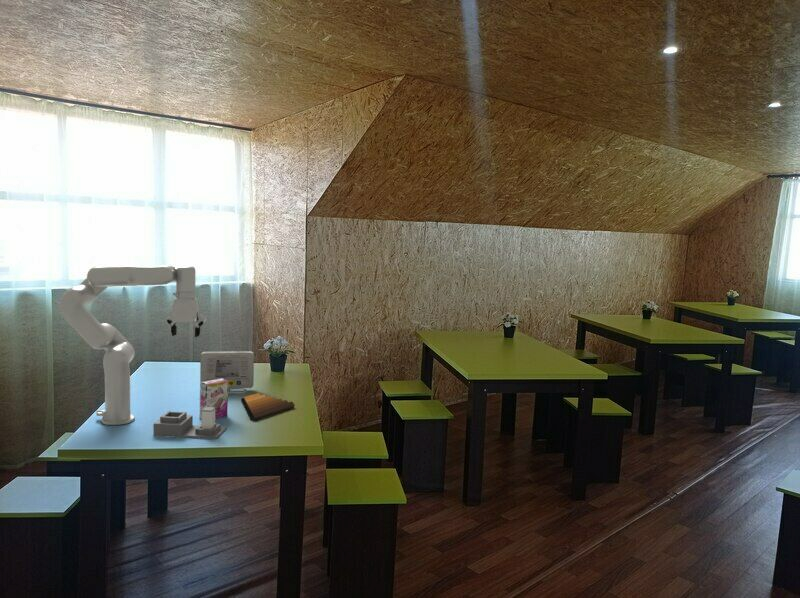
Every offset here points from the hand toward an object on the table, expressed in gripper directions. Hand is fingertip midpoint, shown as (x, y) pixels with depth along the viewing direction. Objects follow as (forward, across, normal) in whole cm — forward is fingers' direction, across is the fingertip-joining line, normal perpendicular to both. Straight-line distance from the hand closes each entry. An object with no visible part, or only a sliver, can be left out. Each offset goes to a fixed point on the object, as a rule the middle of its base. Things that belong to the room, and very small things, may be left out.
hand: (185, 335), depth 247 cm
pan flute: (+37, +25, +19) cm, 49 cm away
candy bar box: (+36, +11, +4) cm, 38 cm away
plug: (+35, +15, -14) cm, 41 cm away
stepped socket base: (+36, +8, -15) cm, 40 cm away
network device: (+36, +4, +45) cm, 58 cm away
